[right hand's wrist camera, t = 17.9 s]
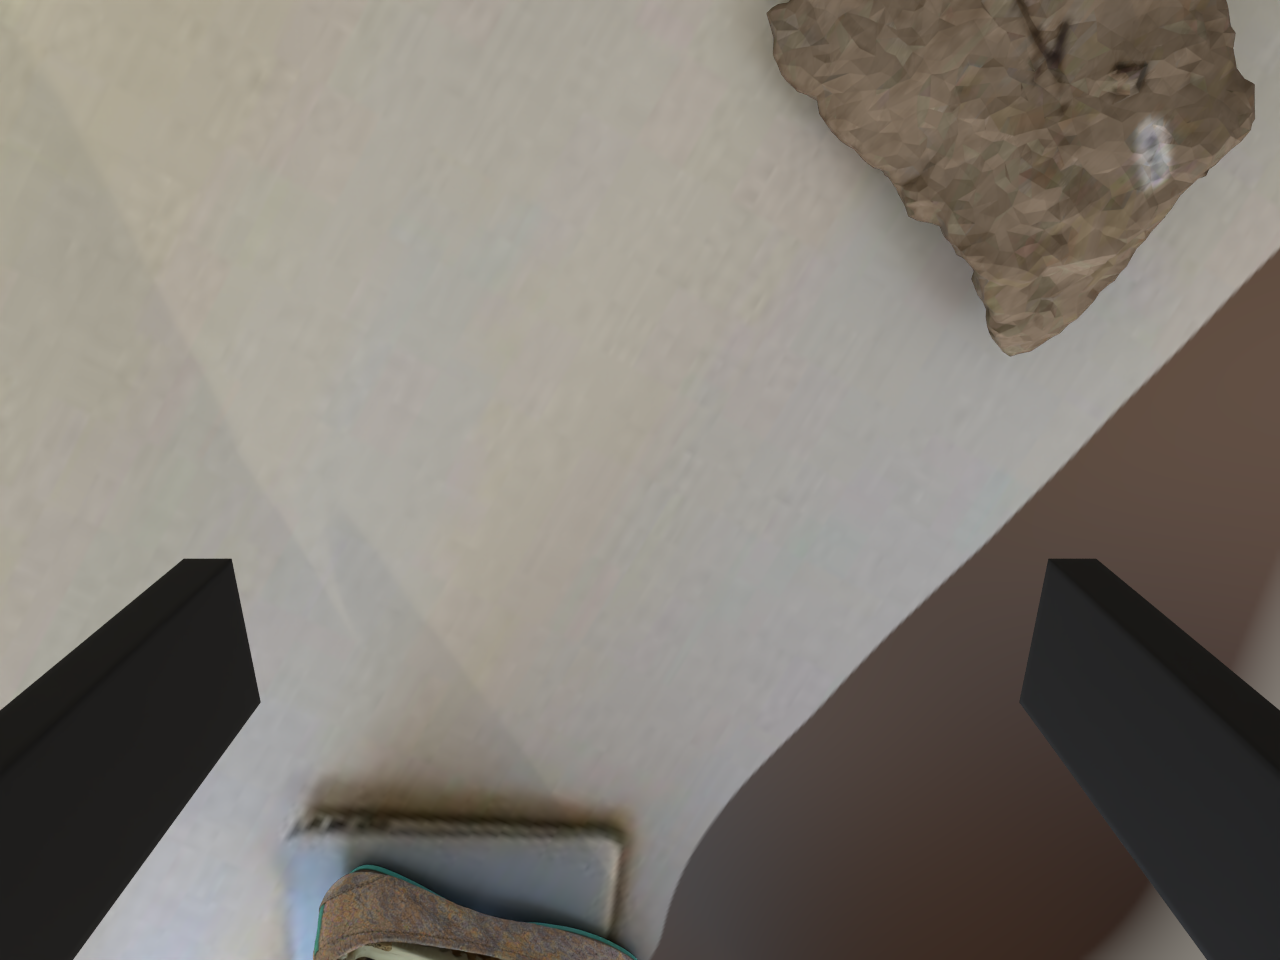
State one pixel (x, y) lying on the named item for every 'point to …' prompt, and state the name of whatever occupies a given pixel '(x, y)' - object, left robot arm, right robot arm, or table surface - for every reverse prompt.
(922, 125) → the stone
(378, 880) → the ballet flat
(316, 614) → the table surface
